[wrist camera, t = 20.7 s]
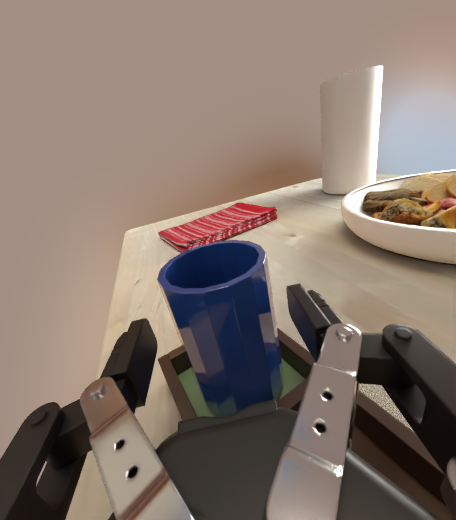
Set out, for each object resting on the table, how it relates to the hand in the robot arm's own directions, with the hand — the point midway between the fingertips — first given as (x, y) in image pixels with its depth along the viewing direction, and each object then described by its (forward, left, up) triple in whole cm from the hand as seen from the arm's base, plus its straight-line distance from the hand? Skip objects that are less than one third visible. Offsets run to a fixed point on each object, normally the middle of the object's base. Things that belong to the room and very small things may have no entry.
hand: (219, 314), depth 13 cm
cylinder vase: (+56, +31, -8) cm, 64 cm away
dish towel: (+19, +38, -8) cm, 43 cm away
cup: (+1, +1, -7) cm, 7 cm away
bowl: (+39, +2, -8) cm, 39 cm away
